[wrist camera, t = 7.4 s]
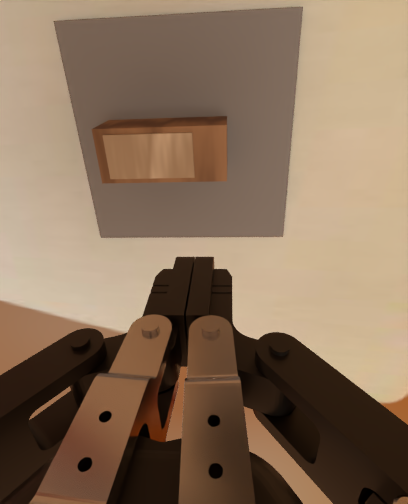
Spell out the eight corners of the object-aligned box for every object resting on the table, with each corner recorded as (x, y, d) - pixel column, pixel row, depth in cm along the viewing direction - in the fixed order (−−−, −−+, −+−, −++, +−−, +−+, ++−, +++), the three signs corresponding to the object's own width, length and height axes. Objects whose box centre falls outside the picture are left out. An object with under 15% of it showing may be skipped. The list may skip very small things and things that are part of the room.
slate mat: (101, 236, 42) (100, 237, 41) (55, 21, 31) (53, 21, 30) (282, 235, 40) (282, 236, 40) (302, 7, 29) (302, 6, 29)
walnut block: (227, 166, 36) (117, 168, 37) (227, 116, 33) (108, 120, 34) (226, 182, 31) (101, 184, 32) (226, 125, 29) (90, 129, 30)
